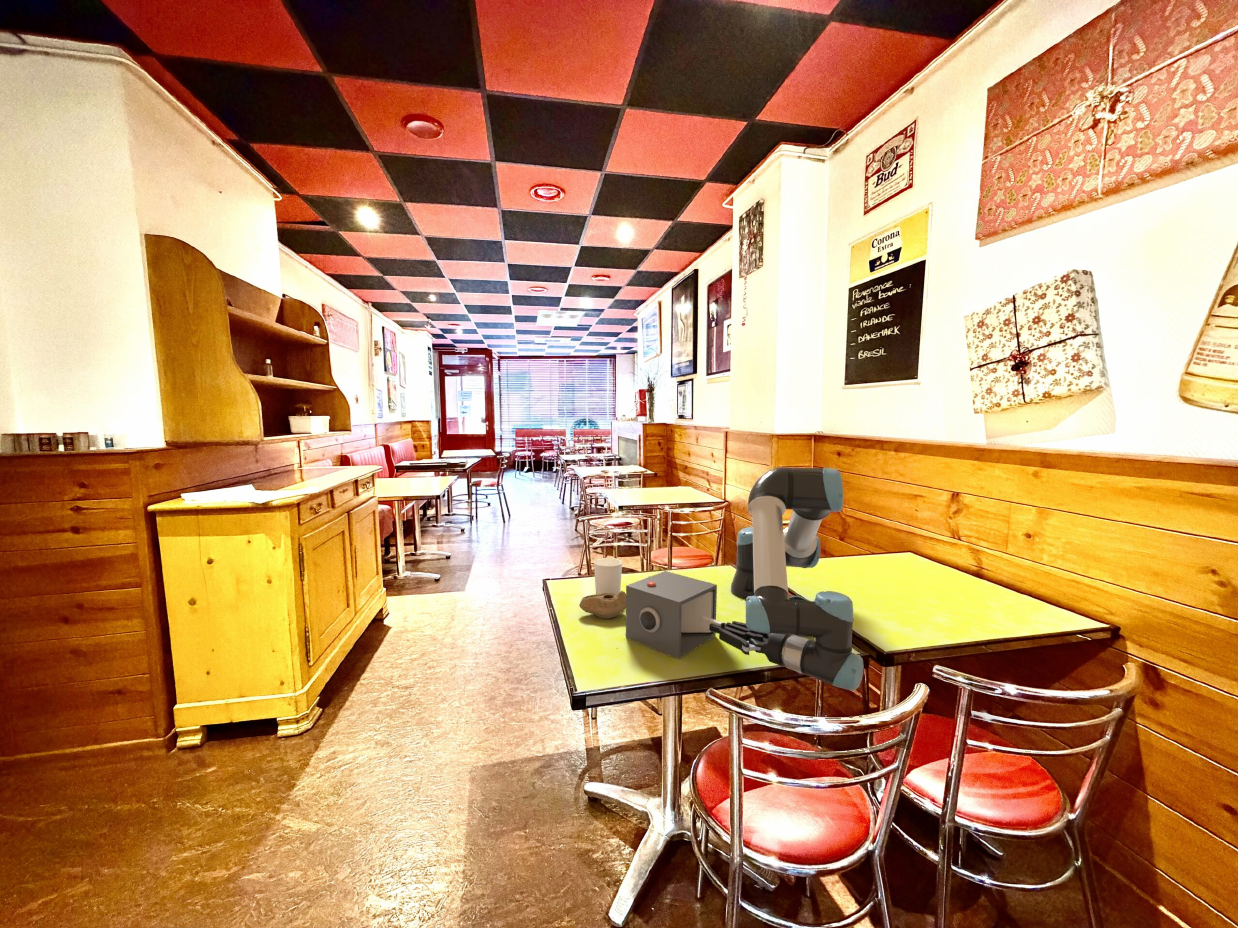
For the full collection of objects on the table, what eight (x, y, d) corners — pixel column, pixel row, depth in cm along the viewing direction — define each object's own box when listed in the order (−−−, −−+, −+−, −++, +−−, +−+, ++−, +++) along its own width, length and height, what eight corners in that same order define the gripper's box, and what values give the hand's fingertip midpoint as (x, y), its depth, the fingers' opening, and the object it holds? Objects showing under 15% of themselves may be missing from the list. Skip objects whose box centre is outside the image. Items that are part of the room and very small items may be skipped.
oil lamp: (577, 610, 154) (577, 586, 154) (623, 607, 157) (623, 583, 157) (582, 624, 144) (582, 598, 143) (631, 620, 147) (631, 595, 146)
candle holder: (618, 601, 162) (619, 566, 161) (590, 599, 164) (590, 565, 162) (624, 591, 171) (624, 558, 170) (597, 589, 173) (597, 557, 172)
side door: (711, 631, 136) (712, 591, 135) (712, 633, 134) (713, 592, 133) (658, 631, 135) (658, 591, 134) (658, 633, 134) (659, 592, 133)
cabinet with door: (664, 618, 148) (665, 568, 147) (715, 636, 136) (716, 582, 135) (621, 639, 134) (622, 584, 132) (674, 661, 122) (675, 601, 120)
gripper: (775, 676, 107) (687, 643, 123) (799, 656, 116) (714, 627, 132) (776, 644, 106) (687, 614, 122) (800, 626, 116) (715, 601, 132)
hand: (702, 621), depth 127 cm, fingers closed
